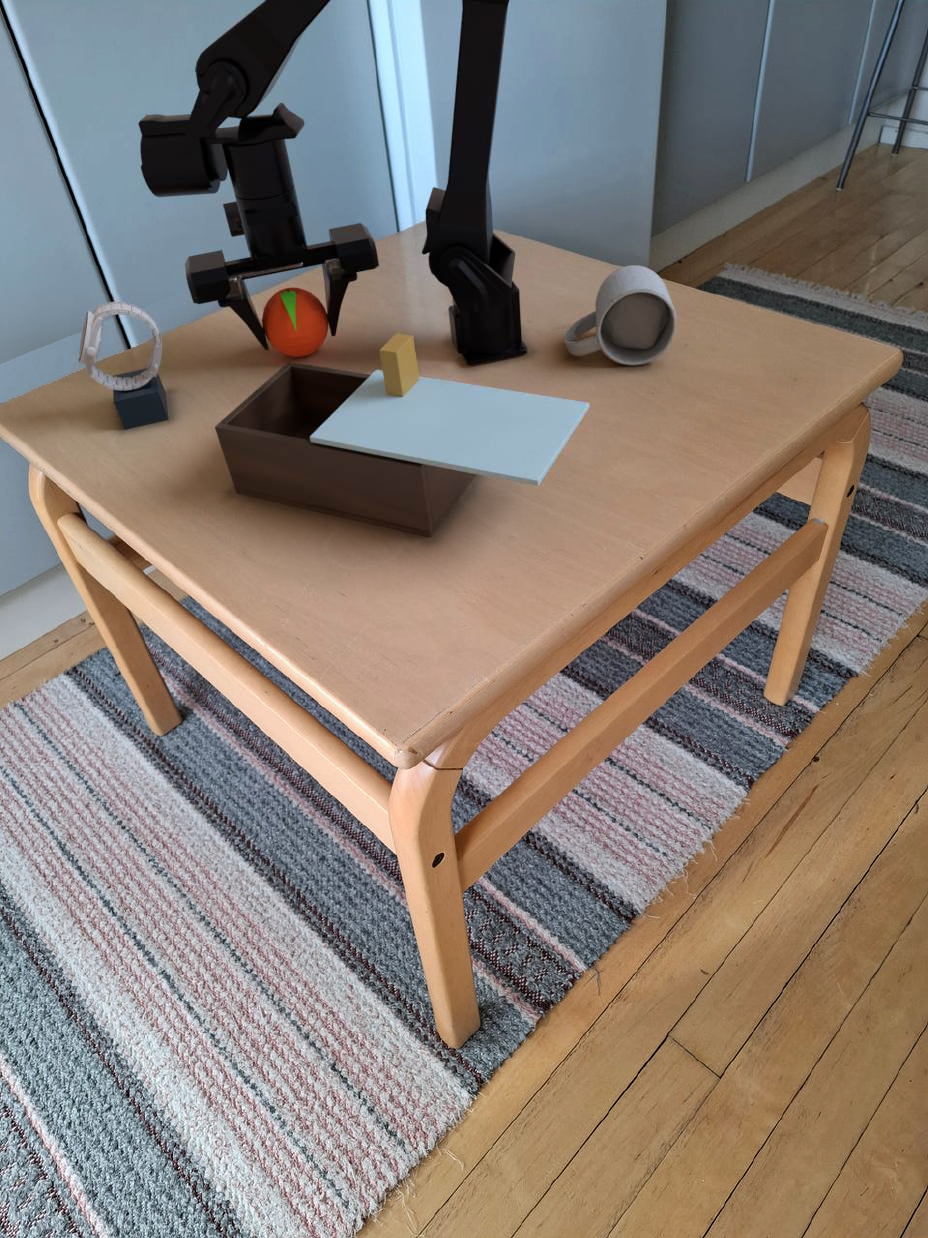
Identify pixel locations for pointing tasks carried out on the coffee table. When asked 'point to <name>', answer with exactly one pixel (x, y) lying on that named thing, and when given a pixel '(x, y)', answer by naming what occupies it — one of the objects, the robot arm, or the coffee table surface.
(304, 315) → the clementine
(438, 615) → the coffee table surface
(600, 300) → the ceramic mug
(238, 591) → the coffee table surface
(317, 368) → the case
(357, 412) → the lid
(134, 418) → the watch
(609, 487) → the coffee table surface
